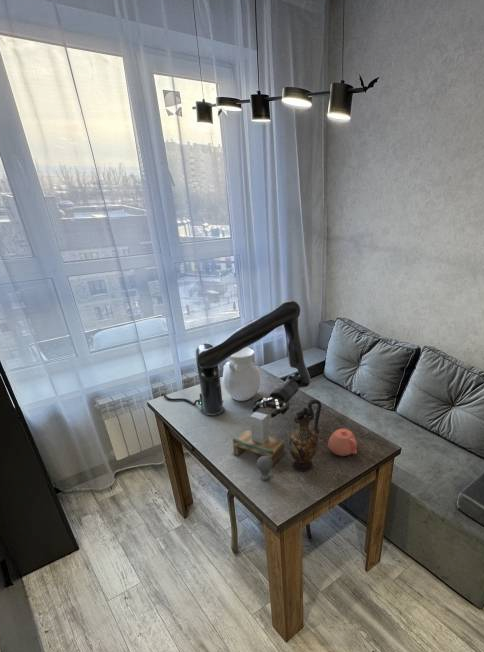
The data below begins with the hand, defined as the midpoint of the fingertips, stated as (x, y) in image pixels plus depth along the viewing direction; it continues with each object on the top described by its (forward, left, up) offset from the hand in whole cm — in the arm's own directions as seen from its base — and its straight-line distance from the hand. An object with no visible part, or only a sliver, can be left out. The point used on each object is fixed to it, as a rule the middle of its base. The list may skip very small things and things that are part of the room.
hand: (262, 413), depth 159 cm
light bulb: (+10, -16, -18) cm, 26 cm away
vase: (+20, -3, -18) cm, 27 cm away
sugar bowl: (+31, +13, -18) cm, 38 cm away
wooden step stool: (0, -4, -17) cm, 18 cm away
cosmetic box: (0, -3, -12) cm, 12 cm away
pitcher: (-32, +33, -18) cm, 49 cm away
